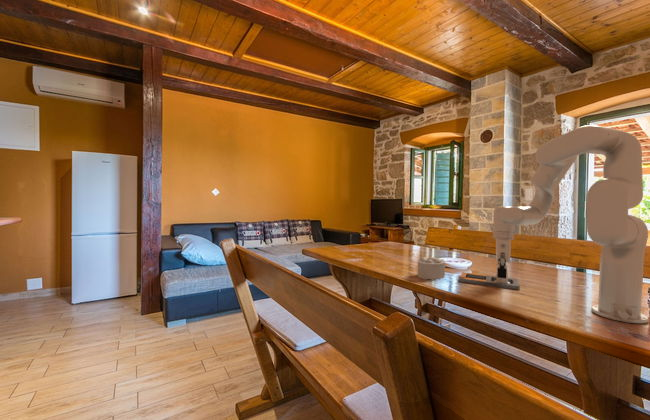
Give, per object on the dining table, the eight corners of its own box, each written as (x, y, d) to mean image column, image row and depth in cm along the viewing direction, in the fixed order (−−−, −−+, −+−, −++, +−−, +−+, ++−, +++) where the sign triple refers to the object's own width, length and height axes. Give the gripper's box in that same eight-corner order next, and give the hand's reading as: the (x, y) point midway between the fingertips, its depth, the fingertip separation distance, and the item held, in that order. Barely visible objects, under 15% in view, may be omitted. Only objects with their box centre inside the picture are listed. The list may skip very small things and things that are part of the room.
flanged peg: (510, 286, 123) (511, 267, 123) (493, 284, 126) (494, 265, 126) (509, 283, 129) (510, 264, 128) (493, 281, 132) (494, 263, 131)
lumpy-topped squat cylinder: (447, 276, 139) (448, 258, 138) (432, 281, 130) (432, 261, 130) (427, 272, 147) (427, 255, 146) (411, 276, 138) (412, 258, 138)
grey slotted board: (519, 290, 119) (519, 285, 119) (459, 281, 130) (459, 278, 130) (517, 282, 130) (517, 278, 130) (462, 275, 141) (462, 271, 141)
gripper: (514, 238, 118) (512, 281, 118) (512, 233, 132) (511, 272, 133) (492, 236, 121) (491, 278, 122) (493, 232, 136) (491, 269, 137)
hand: (501, 275), depth 128 cm, fingers open, 9 cm apart
